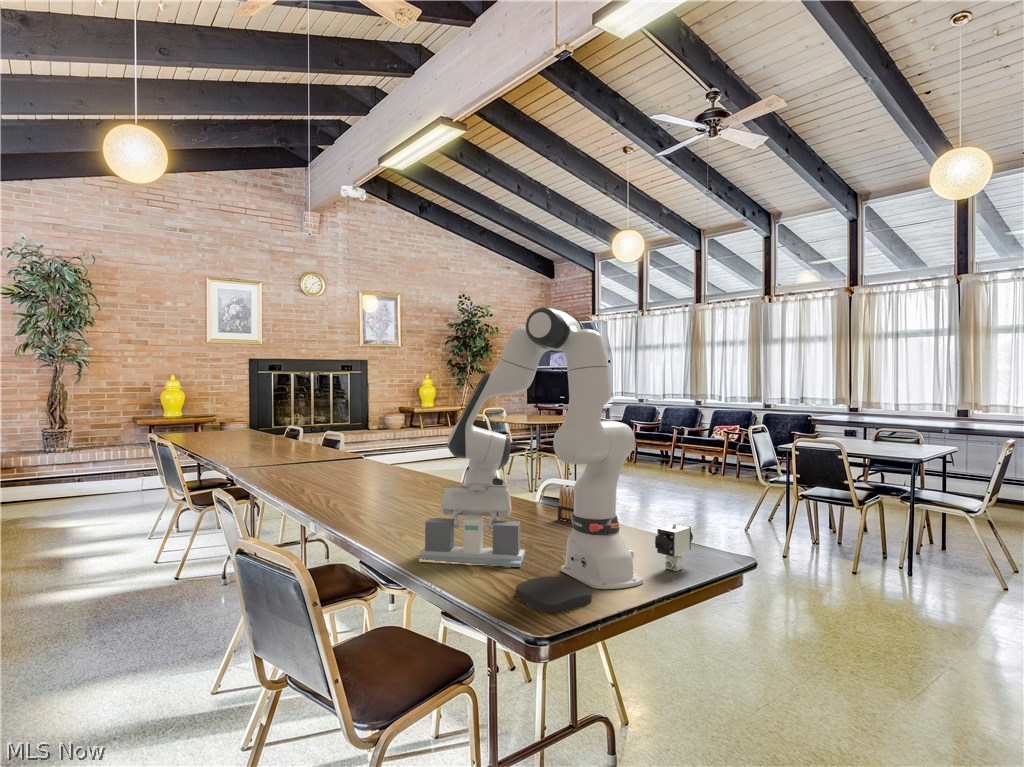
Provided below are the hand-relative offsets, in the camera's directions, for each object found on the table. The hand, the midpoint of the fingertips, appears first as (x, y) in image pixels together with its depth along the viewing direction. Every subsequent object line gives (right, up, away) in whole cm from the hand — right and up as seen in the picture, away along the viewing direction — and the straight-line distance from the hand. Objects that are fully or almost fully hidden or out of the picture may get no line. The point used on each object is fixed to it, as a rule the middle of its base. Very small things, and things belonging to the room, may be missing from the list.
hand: (472, 527), depth 154 cm
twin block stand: (0, -9, +1) cm, 9 cm away
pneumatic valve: (+54, -9, -7) cm, 55 cm away
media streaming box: (+20, -9, -28) cm, 36 cm away
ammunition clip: (+32, -9, +43) cm, 54 cm away
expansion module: (0, -6, +1) cm, 6 cm away
